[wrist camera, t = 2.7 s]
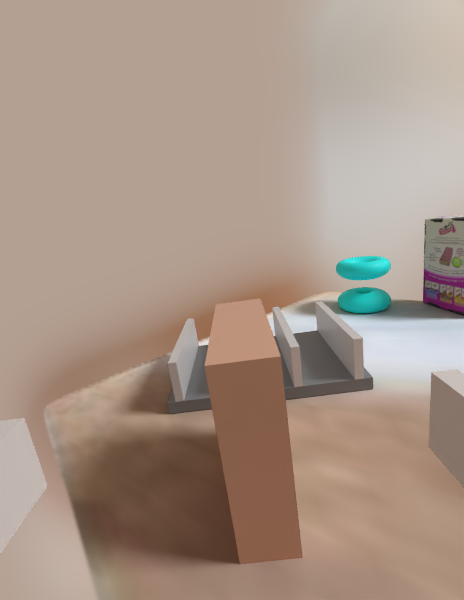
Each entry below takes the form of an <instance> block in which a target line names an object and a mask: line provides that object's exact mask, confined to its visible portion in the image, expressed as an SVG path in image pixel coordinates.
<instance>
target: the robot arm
mask: <svg viewBox="0 0 464 600" xmlns="http://www.w3.org/2000/svg"><path fill="white" fill-rule="evenodd" d="M429 448H430V449H431V450H432V451H433V452H434V453H435V455H436V456H437V457H438V458H439V459H440V460H441V461H442V463H443V464H444V465H445V466H446V467H447V468H448V469H449V471H450V472H451V473H452V474H453V475H454V476H455V477H456V479H457V480H458V481H459V482H460V483H461V484H462V485H463V487H464V374H462V373H461V372H459V371H458V370H449V371H440V372H432V375H431V400H430V425H429ZM46 488H47V484H46V481H45V478H44V475H43V472H42V469H41V466H40V463H39V460H38V457H37V454H36V451H35V448H34V445H33V442H32V439H31V437H30V433H29V430H28V427H27V425H26V422H25V419H24V418H21V419H12V420H3V421H1V422H0V554H1V552H2V551H3V549H4V548H5V546H6V545H7V544H8V542H9V541H10V539H11V538H12V536H13V535H14V533H15V532H16V531H17V529H18V528H19V526H20V525H21V524H22V522H23V521H24V519H25V518H26V516H27V515H28V513H29V512H30V511H31V509H32V508H33V506H34V505H35V504H36V502H37V501H38V499H39V498H40V496H41V495H42V493H43V492H44V491H45V489H46Z"/></svg>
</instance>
